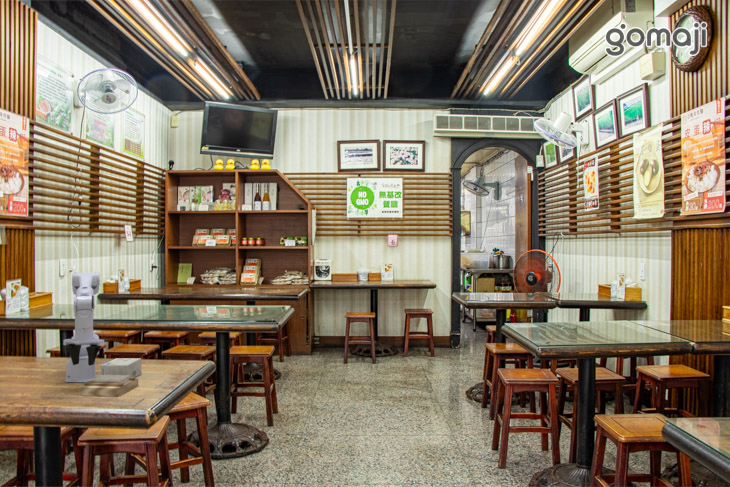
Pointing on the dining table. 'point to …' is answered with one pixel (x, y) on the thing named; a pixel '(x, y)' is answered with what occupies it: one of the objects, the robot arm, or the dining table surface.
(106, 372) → the light bulb box
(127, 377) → the cover plate
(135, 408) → the dining table surface
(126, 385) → the slide box
